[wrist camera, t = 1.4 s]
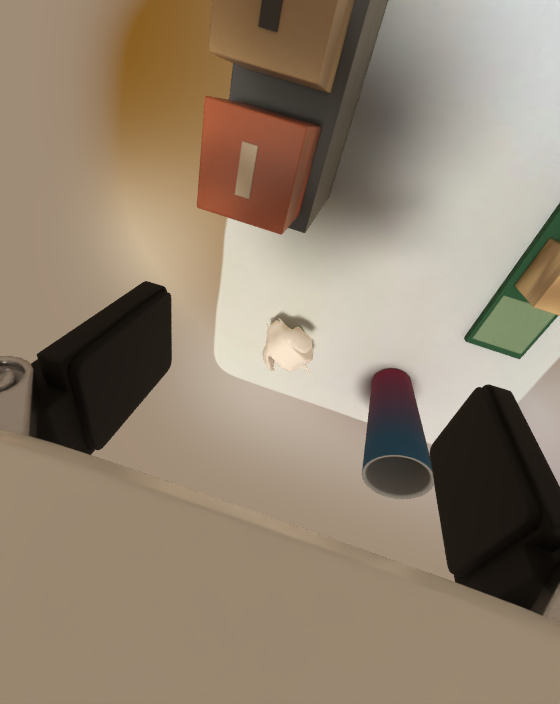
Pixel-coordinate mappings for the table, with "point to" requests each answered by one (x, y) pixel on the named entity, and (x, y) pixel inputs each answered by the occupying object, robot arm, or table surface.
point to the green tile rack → (524, 298)
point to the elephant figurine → (287, 347)
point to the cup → (395, 440)
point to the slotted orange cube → (254, 163)
